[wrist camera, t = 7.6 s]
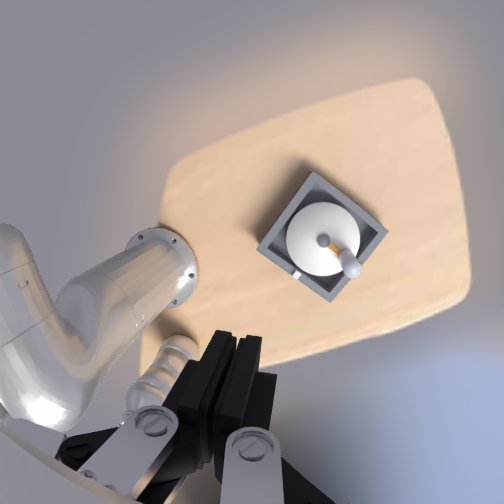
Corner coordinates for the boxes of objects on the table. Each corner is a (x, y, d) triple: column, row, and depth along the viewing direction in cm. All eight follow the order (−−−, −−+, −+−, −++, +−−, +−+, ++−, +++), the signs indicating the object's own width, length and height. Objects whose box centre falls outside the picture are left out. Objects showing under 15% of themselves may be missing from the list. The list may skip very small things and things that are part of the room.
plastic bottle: (162, 329, 46) (98, 407, 27) (198, 329, 44) (143, 417, 25) (172, 360, 47) (119, 440, 28) (207, 361, 46) (163, 451, 27)
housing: (328, 293, 39) (330, 304, 36) (259, 243, 39) (255, 250, 36) (382, 226, 36) (389, 231, 32) (311, 171, 35) (313, 170, 32)
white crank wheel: (272, 245, 37) (267, 260, 31) (313, 186, 35) (317, 189, 28) (329, 284, 38) (334, 306, 31) (370, 229, 35) (385, 241, 28)
